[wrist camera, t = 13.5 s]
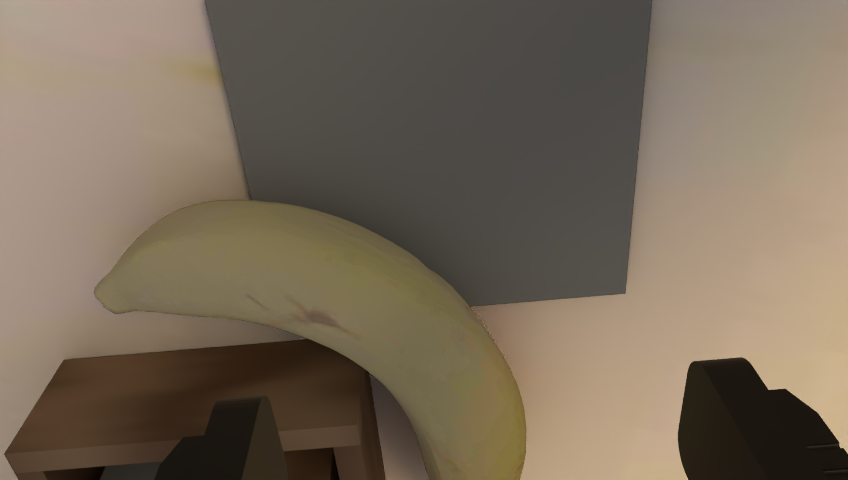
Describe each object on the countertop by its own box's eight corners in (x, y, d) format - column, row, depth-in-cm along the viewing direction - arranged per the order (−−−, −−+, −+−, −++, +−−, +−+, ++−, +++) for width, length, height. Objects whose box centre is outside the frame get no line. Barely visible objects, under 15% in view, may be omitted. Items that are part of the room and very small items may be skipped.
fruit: (625, 492, 20) (617, 402, 23) (215, 164, 15) (264, 94, 17) (453, 550, 24) (463, 467, 27) (76, 306, 19) (133, 232, 21)
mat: (650, -47, 17) (656, -44, 16) (621, 286, 22) (625, 293, 22) (207, -8, 17) (203, -4, 17) (281, 314, 22) (280, 322, 22)
